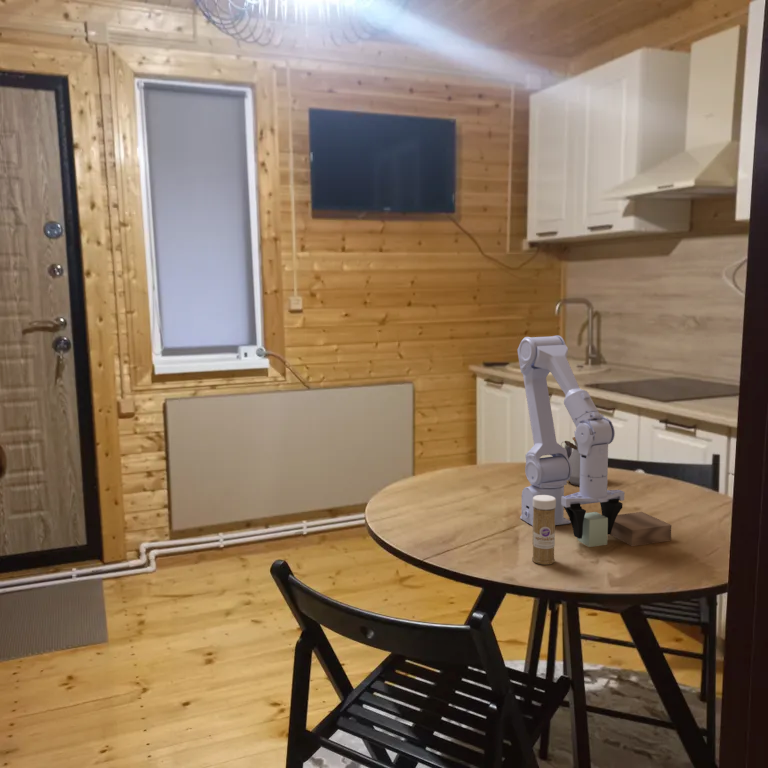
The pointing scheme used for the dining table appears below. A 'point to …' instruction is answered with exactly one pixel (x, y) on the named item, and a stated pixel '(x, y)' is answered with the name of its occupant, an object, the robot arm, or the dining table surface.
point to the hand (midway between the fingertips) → (592, 535)
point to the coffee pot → (574, 462)
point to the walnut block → (640, 529)
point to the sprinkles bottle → (543, 529)
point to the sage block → (594, 530)
